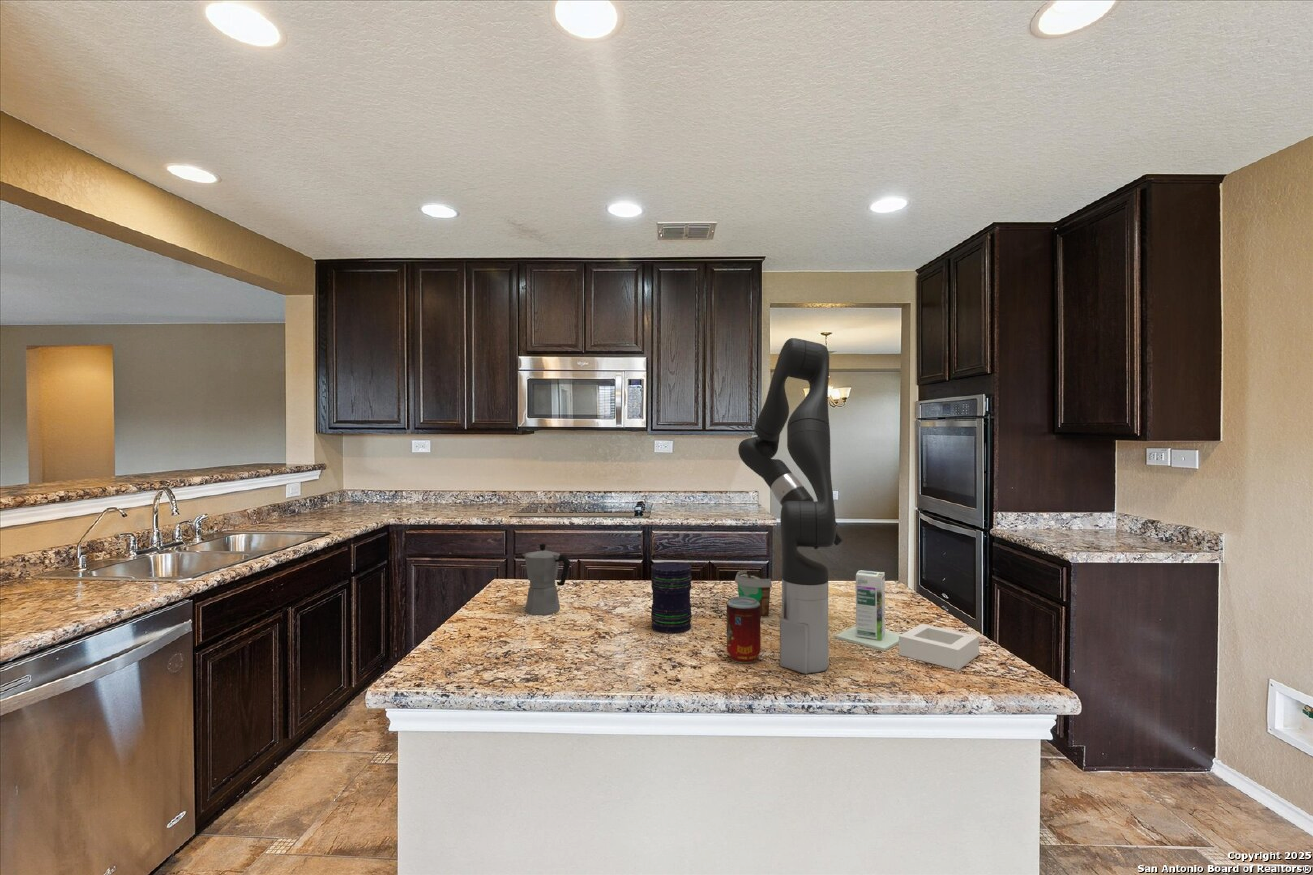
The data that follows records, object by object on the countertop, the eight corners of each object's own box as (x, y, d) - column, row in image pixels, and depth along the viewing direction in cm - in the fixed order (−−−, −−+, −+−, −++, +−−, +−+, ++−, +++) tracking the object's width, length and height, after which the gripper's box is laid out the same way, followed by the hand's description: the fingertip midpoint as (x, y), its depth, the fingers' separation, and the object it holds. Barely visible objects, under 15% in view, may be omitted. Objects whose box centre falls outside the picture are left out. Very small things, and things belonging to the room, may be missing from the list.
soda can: (723, 652, 130) (723, 595, 130) (755, 651, 130) (755, 594, 130) (730, 665, 123) (730, 604, 123) (764, 664, 123) (764, 604, 123)
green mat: (885, 651, 130) (885, 648, 130) (834, 638, 139) (834, 635, 139) (908, 638, 139) (908, 635, 139) (859, 626, 147) (859, 624, 147)
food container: (726, 608, 163) (726, 571, 163) (745, 605, 166) (745, 569, 166) (751, 621, 152) (751, 581, 152) (772, 617, 155) (771, 578, 155)
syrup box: (855, 637, 138) (855, 573, 138) (859, 629, 143) (859, 568, 143) (881, 641, 135) (881, 576, 135) (885, 633, 140) (885, 571, 140)
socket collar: (958, 670, 120) (958, 649, 120) (898, 654, 128) (898, 635, 128) (978, 654, 128) (978, 635, 128) (921, 641, 137) (921, 623, 137)
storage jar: (675, 636, 140) (675, 572, 140) (642, 628, 146) (642, 567, 146) (699, 626, 148) (699, 565, 148) (667, 618, 154) (667, 560, 154)
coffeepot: (511, 612, 160) (511, 544, 160) (534, 603, 169) (534, 539, 169) (558, 620, 153) (558, 549, 153) (580, 610, 162) (579, 543, 162)
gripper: (782, 486, 150) (821, 538, 141) (817, 483, 159) (855, 532, 150) (765, 506, 154) (802, 558, 145) (800, 502, 163) (837, 550, 154)
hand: (829, 545), depth 148 cm, fingers open, 8 cm apart
